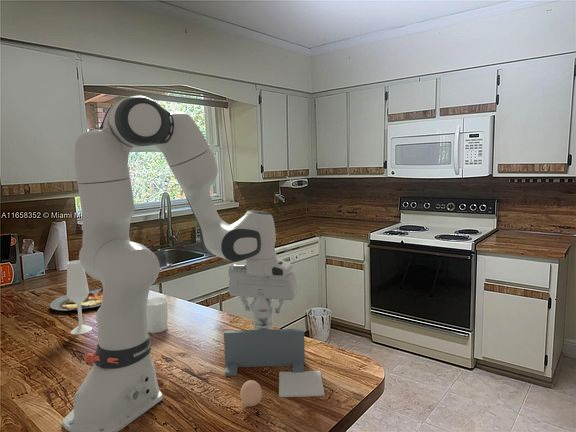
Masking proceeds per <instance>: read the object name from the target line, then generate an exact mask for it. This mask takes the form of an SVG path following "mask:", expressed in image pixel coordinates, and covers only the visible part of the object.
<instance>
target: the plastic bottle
mask: <svg viewBox="0 0 576 432" xmlns="http://www.w3.org/2000/svg"><path fill="white" fill-rule="evenodd" d="M257 295H263V290H262V289H258V290H257ZM252 299H253V300H252V301H251V303H250V304H251V308H252V309H251V313H252V317H253V318H252V319H253V320H252V321H253V322H252V323H253V330H269V329H273V326H272V325H273V312H274V302H273V299H266V298H263V297H261V296H259V297H257V298H252Z"/></svg>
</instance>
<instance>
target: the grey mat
mask: <svg viewBox="0 0 576 432" xmlns="http://www.w3.org/2000/svg"><path fill="white" fill-rule="evenodd" d="M278 373H279V375H278V398H294V397H295V398H300V397H301V398H302V397H305V398H306V397H325V396H326V395H325V389H324V385H323V378H322V373H321V370H308V371H307V370H304V372H295V373H293V371H279V372H278Z"/></svg>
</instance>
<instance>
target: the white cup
mask: <svg viewBox="0 0 576 432" xmlns="http://www.w3.org/2000/svg"><path fill="white" fill-rule="evenodd" d="M168 313H169V311H168V299H167V298H166V297H163V296H161V297H160V296H158V297H150V298H148V299H147V328H148V334H150V333H151V334H157V333H162V332H165V331H166V330H168Z"/></svg>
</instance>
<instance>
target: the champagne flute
mask: <svg viewBox="0 0 576 432" xmlns="http://www.w3.org/2000/svg"><path fill="white" fill-rule="evenodd" d="M86 274H87V273H86V272H85V270H84V269H83V268H82V266H81V264H80V261H79V259H78V260H71V261H68V262H66V295H67V297H68V298H69V299H70V300H71V301H73V302H74V303H77V308H78V310H77V317H78V326H76V327H75V328H73V329H72V330H70V334H72V335H82V334H86V333H88V332H91V331H92V330H93V327H92V326H89V325H86V324H84V322H83V321H84V320H83V312H82V310H83V309H81V302H83V301H84V300H85V299H86V298H87V296H88V294H89V290H90V289H89V285H88V279H87V275H86Z"/></svg>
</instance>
